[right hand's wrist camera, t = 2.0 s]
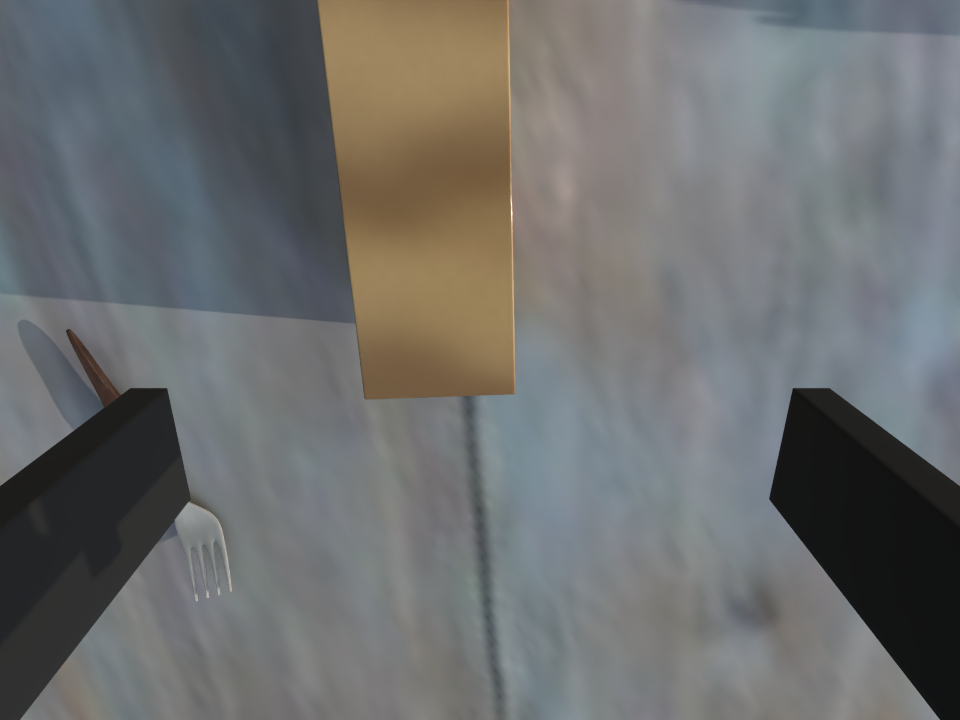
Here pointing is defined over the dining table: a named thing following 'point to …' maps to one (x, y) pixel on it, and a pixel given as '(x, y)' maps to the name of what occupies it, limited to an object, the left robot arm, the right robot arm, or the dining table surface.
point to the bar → (425, 190)
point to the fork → (193, 520)
